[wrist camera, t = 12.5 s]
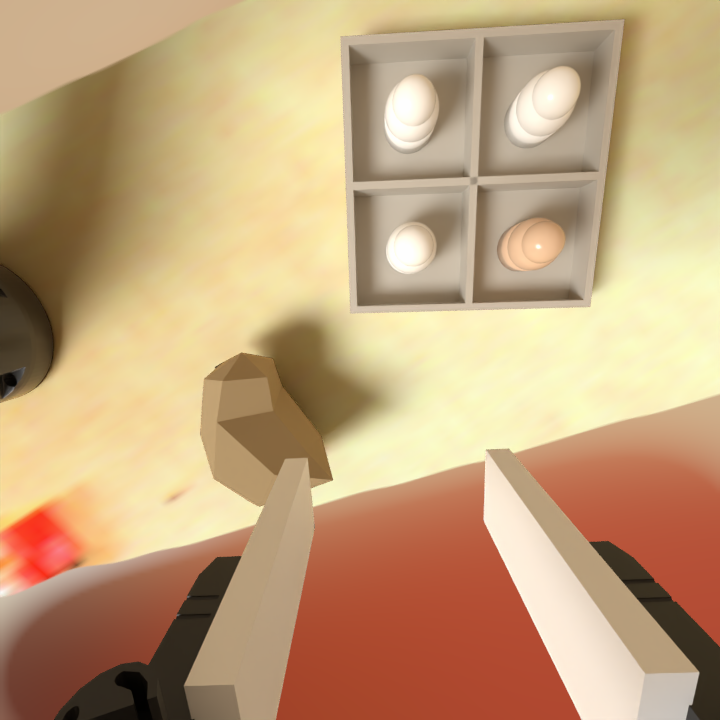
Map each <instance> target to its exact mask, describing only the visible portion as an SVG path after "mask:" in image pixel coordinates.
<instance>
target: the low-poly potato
mask: <svg viewBox="0 0 720 720" xmlns="http://www.w3.org/2000/svg"><path fill="white" fill-rule="evenodd" d="M215 368H216V369H215V370H214V371H213V372H212V373H210V374H209V375H208V376H207V377H206V378H205V379H204V387H203V401H202V415H201V429H200V435H201V438H202V442H203V445H204V448H205V452H206V455H207V458H208V462H209V465H210V468H211V471H212V475H213V478H214V479H215V480H216V481H218V482H220V483H221V484H223V485H224V486H226V487H227V488H229V489H231V490H232V491H234V492H235V493H237V494H238V495H240V496H242V497H243V498H245V499H246V500H248V501H249V502H251V503H253V504H255V505H257V506H259V507H260V506H263V505H265V503H266V501H267V498H268V496H269V494H270V492H271V490H272V487H273V485H274V483H275V481H276V478H277V476H278V474H279V472H280V469H281V467H282V465H283V463H284V460H285V459H291V458H308V467H309V476H310V486H311V488H313V487H315V486H318V485H321V484H324V483H326V482H329V481H332V480H333V478H332V474H331V471H330V467H329V463H328V459H327V455H326V452H325V448H324V444H323V440H322V437H321V435H320V434H319V432H318V431H317V430H316V429H315V427H314V426H313V425H312V424H311V422H310V421H309V420H308V418H307V417H306V416H305V415H304V413H303V412H302V411H301V409H300V408H299V407H298V406H297V404H296V403H295V402H294V400H293V399H292V398H291V397H290V395H289V394H288V393H287V392H286V390H285V389H284V388H283V386H282V384H281V381H280V378H279V375H278V372H277V369H276V366H275V363H274V360H273V358H268V357H262V356H257V355H252V354H247V353H240V354H238V355H236V356H234V357H232V358H230V359H228V360H227V361H225V362H223V363H221V364H219V365H218V366H216V367H215Z"/></svg>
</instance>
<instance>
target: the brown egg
mask: <svg viewBox="0 0 720 720" xmlns="http://www.w3.org/2000/svg"><path fill="white" fill-rule="evenodd" d="M565 241H566V237H565V233H564V231H563V229H562V228H561V226H560V225H558V224H556V223H555V222H553V221H552V220H550V219H547V218H540V217H537V218H531V219H528V220H526V221H523V222H521V223H518V224H516V225H513V226H511V227H510V228H508V229H507V230H506V231H505V232H504V233H503V234H502V235H501V237H500V239H499V241H498V245H497V255H498V258H499V261H500V262H501V264H502V265H503V266H504V267H505V268H507V269H509V270H511V271H517V272H519V271H532V270H538V269H542V268H544V267H546V266H548V265H549V264H551V263H552V262H553V261H554V260H555V259H556V258H557V257H558V255H559V254H560V253H561V252H562V250H563V248H564V245H565Z"/></svg>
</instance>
